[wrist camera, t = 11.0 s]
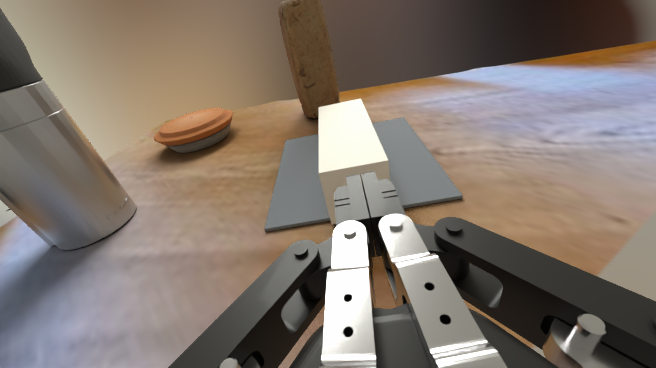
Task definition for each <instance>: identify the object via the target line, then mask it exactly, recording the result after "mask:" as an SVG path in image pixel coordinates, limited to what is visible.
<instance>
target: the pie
mask: <svg viewBox="0 0 656 368" xmlns="http://www.w3.org/2000/svg"><path fill="white" fill-rule="evenodd" d="M232 115H233V112H232V111H230V110H223V109H222V108H210V109H204V110H200V111H196V112H192V113H189V114H186V115H184V116H181V117H178V118H176V119H174V120H172V121H170V122H168V123H167V124H165V125H164V126H162V127H161V129H160V131H159V132H157V133H156V135H155V136H154V140H155V141H157V142H159V143H161V144H163V145H166V146H167V147H169V148H171V149H172V150H174V151H176V152H178V153H187V152H193V151H197V150H201V149H204V148H207V147H209V146H212V145H214V144H216V143H218V142H219V141H221V140H223V139H224V138H225V137H226V136H227V135H228V134H229V130H230V124H231V120H232Z"/></svg>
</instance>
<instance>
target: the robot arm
mask: <svg viewBox="0 0 656 368" xmlns="http://www.w3.org/2000/svg"><path fill="white" fill-rule="evenodd" d="M42 79H43V78H42V77H41V76H40V74H39V73H38V72H37V70H36V69H35V67H34V65H33V63H32V61H31V58H30V56H29V53H28V51H27V49H26V47H25V45H24V43H23V42H22V40H21V38H20V37H19V36H18V34H17V32H16V31H15V29H14V28H13V26H12V25H11V23H10V22H9V21H8V19H7V18H6V16H5V15H4V13H3V12H2V10H1V9H0V200H1V201H2V202H3V203H4V204H5V205H7V206H8V207H9V208H10V209H11V210H12V211H13V212H14V213H15V214H16V215H17V216H18V217H19V218H20V219H21V220H23V221H24V222H25V223H26V224H27V225H28V226H29V227H30V228H31V229H32V230H33V231H34V232H35V233H36V234H37V235H39V236H40V237H41V238H42V239H43V240H44V241H45V242H46V243H47V244H48V245H49V246H52V245H56V246H57V247H58V248H59V249H62V250H71V249H77V248H80V247H84V246H86V245H89V244H91V243H94V242H96V241H98V240H100V239H102V238H104V237H106V236H108V235H109V234H111V233H113V232H114V231H115V230H117V229H118V228H120V227H121V226H122V225H124V224H125V223H126V222H127V221H128V220H129V219H130V218H131V217H132V215H133V214H134V213H135V210H136V205H135V203H134V202H133V200H132V199H131V198H130V196H129V195H128V194H127V192H126V191H125V190H124V188H123V187H122V185H121V184H120V183H119V181H118V180H117V178H116V177H115V176H114V174H113V173H112V172H111V170H110V169H109V168H108V166H107V165H106V164H105V162H104V161H103V159H102V158H101V157H100V156H99V154H98V153H97V152H96V150H95V149H94V147H93V146H92V145H91V143H90V142H89V140H88V139H87V138H86V136H85V135H84V134H83V132H82V131H81V130H80V128H79V127H78V126H77V124H76V123H75V122H74V120H73V119H72V117H71V116H70V115H69V113H68V112H67V111H66V109H65V108H64V107H63V105H62V104H61V103H60V101H59V100H58V99H57V97H56V96H55V95H54V93H53V92H52V91H51V89H50V88H49V86H48V85H47V84H46V82H45V81H44V80H42ZM361 180H362V182H361ZM346 181H347V186H341V187H337V189H336V191H335V192H334V204H335V219H336V228H335V230H334V232H333V235H332V236H331V237H330V238H329V239H328V240H326V241H324V242H322V243H319V244H317V245H316V243H314V242H313V241H311V240H300V241H297V242H295V243H293V244H292V245H290V246H289V247H288V248H287V249H286V250H285V251H284V252H283V253H282V254H281V255H280V256H279V257H278V258H277V259H276V260H275V261H274V262H273V263H272V264H271V265H270V266H269V267H268V268H267V269H266V270H265V271H264V272H263V273H262V274H261V275H260V276H259V277H258V278H257V279H256V280H255V281H254V282H253V283H252V284H251V285H250V286H249V287H248V288H247V289H246V290H245V291H244V292H243V293H242V294H241V295H240V296H239V297H238V298H237V299H236V300H235V301H234V302H233V303H232V304H231V305H230V306H229V307H228V308H227V309H226V310H225V311H224V312H223V313H222V314H221V315H220V316H219V317H218V318H217V319H216V320H215V321H214V322H213V323H212V324H211V325H210V326H209V327H208V328H207V329H206V330H205V331H204V332H203V333H202V334H201V335H200V336H199V337H198V338H197V339H196V340H195V341H194V342H193V343H192V344H191V345H190V346H189V347H188V348H187V349H186V350H185V351H184V352H183V353H182V354H181V355H180V356H179V357H178V358H177V359H176V360H175V361H174V362H173V363H172V364H171V365H170V366H169V367H168V368H278V367H279V365H280V364H281V363H282V361H283V360H284V359H285V357H286V356H287V355H288V353H289V352H290V350H291V349H292V348H293V346H294V345H295V344H296V342H297V341H298V340H299V338H300V337H301V336H302V334H303V333H304V332H305V330H306V329H307V328H308V326H309V325H310V324H311V322H312V321H313V319H314V318H315V317H316V315H317V314H318V313H319V311H320V310H321V309H322V307H323V306H324V305H325V317H324V325H323V326H321V327H320V328H319V329H318V330H316V331H315V332H314V333H313V335H312V336H311V337H310V338H309V339H308V341H307V342H306V344H305V345H304V347H303V348H302V350H301V351H300V353H299V354H298V356H297V357H296V358H295V360H294V361H293V363H292V364H291V366H290V367H289V368H656V301H653V300H651V299H649V298H646V297H644V296H642V295H639V294H637V293H635V292H632V291H630V290H628V289H625V288H623V287H621V286H618V285H616V284H613V283H611V282H609V281H606V280H604V279H602V278H599V277H597V276H595V275H592V274H590V273H588V272H585V271H583V270H581V269H578V268H576V267H574V266H571V265H569V264H567V263H564V262H562V261H559V260H557V259H555V258H552V257H550V256H548V255H545V254H543V253H541V252H538V251H536V250H534V249H531V248H529V247H527V246H524V245H522V244H520V243H517V242H515V241H513V240H510V239H508V238H505V237H503V236H501V235H498V234H496V233H494V232H491V231H489V230H487V229H484V228H482V227H480V226H477V225H475V224H473V223H470V222H468V221H466V220H463V219H460V218H456V217H447V218H443V219H440V220H439V221H437V222H436V224H435V226H425V225H419V224H416V223H414V222H412V221H411V219H410V218H409V217H407V216H406V214H405V212H404V209H403V207H402V204H401V202H400V199H399V197H398V195H397V192H396V190H395V187H394V185H393V183H392V182H391V181H389V180H388V179H381V180H377V177H376V173H375V171H371V172H365V173H361V178H360V174H354V175H349V176H346ZM362 186H363V187H362ZM373 241H374V244H373ZM374 246H375V250H376V255H377V256H382V259H383V264H384V271H385V274H386V277H387V280H388V283H389V286H390V289H391V292H392V295H393V298H394V301H395V304H396V308H393V309H380V308H376V300H375V290H374V280H373V271H372V269H373V262H372V257H375V251H374ZM470 263H471V264H470ZM483 270H484V271H483ZM485 271H486V272H485ZM463 299H464V300H465V301H467V302H468V303H470V304H472V305H473V306H475V307H476V308H478V309H479V310H481V311H483V312H484V313H486V314H487V315H489V316H490V317H492V318H493V319H495V320H497V321H498V322H500V323H501V324H503V325H504V326H506V327H508V328H509V329H511V330H512V331H514V332H515V333H517V334H518V335H520V336H522V337H523V338H525V339H526V340H528V341H529V342H531V343H533V344H534V345H536V346H537V347H539V348H540V349H542V350H543V352H544V355H545V357H546V358H544V357H543V356H541V355H540V354H538V353H537V352H536V351H534V350H533V349H531V348H530V347H528V346H527V345H525V344H524V343H522V342H521V341H520V340H518V339H517V338H515V337H514V336H512V335H511V334H509V333H508V332H506V331H505V330H504V329H502V328H501V327H499V326H498V325H496V324H495V323H493V322H492V321H490V320H489V319H488V318H486V317H484V316H483V315H481V314H479V313H477V312H475V311H473V310H471V309H469V308H467V306H466V304H465V303H464V301H463Z"/></svg>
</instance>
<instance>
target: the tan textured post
mask: <svg viewBox="0 0 656 368" xmlns="http://www.w3.org/2000/svg"><path fill="white" fill-rule="evenodd" d="M279 17H280V25H281V30H282V35H283V40H284V44H285V48H286V52H287V56H288V60H289V64H290V68H291V71H292V75H293V79H294V83H295V86H296V90H297V93H298V97H299V100H300V102H301V104H302V109H303V111H304V113H305V115H306V116H307V117H309V118H318V117H319V107H322V106H327V105H332V104H337V103H340V101H339V91H338V84H337V78H336V72H335V66H334V60H333V55H332V49H331V45H330V40H329V35H328V30H327V25H326V20H325V16H324V11H323V7H322V3H321V0H287V1H282V2H281V3H280V5H279Z"/></svg>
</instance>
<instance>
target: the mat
mask: <svg viewBox="0 0 656 368" xmlns="http://www.w3.org/2000/svg"><path fill="white" fill-rule="evenodd" d="M372 125H373V127H374V129H375V132H376V134H377V136H378V138H379V141H380V143H381V145H382V147H383V149H384V152H385V154H386V156H387V158H388V162H389V174H390V181H391V182H392V183H393V185H394V187H395V190H396V192H397V195H398V197H399V199H400V202H401V204H402V207H403V208H409V207H415V206H421V205H427V204H433V203H439V202H445V201H451V200H457V199H462V196H463V195H462V194H461V193H460V191H459V190H458V189H457V187H456V186H455V185H454V183H453V182H452V181H451V179H450V178H449V177H448V175H447V174H446V173H445V171H444V170H443V169H442V167H441V166H440V165H439V163H438V162H437V161H436V159H435V158H434V157H433V155H432V154H431V153H430V152H429V150H428V149H427V148H426V146H425V145H424V144H423V142H422V141H421V140H420V138H419V137H418V136H417V134H416V133H415V132H414V130H413V129H412V128H411V126H410V125H409V124H408V122H407V121H406V120H405V118H404V117H402V118H397V119H392V120H387V121H382V122H377V123H372ZM326 221H331V220H330V216H329V212H328V208H327V205H326V201H325V197H324V193H323V189H322V185H321V181H320V177H319V134H316V135H311V136H305V137H300V138H295V139H290V140H286V141H285V146H284V150H283V154H282V158H281V162H280V166H279V171H278V175H277V179H276V183H275V187H274V191H273V196H272V200H271V204H270V208H269V212H268V216H267V220H266V225H265V231H266V232H267V231H273V230H279V229H285V228H291V227H297V226H303V225H309V224H314V223H320V222H326Z"/></svg>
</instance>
